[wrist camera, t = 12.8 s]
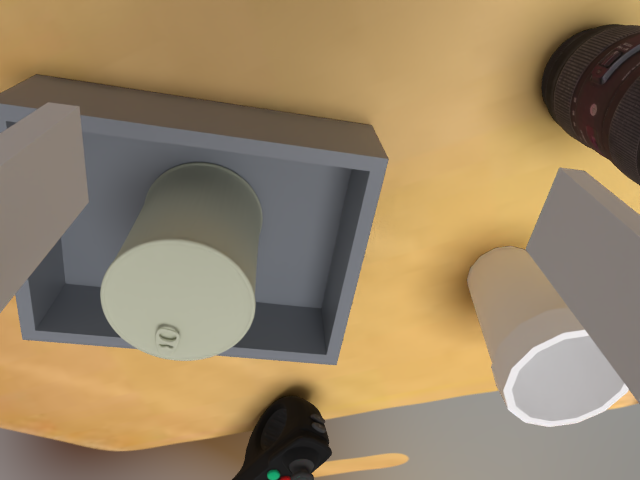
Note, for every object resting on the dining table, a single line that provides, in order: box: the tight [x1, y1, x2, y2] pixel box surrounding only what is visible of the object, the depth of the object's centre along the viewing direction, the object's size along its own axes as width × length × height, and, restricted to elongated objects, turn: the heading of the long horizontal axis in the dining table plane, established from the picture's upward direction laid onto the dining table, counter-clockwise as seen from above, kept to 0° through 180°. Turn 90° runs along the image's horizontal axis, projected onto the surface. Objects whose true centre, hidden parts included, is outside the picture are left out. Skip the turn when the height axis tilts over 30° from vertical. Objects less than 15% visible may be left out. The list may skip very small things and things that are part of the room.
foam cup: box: [467, 246, 629, 427], centre depth 41 cm, size 10×9×13 cm
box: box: [0, 74, 389, 365], centre depth 38 cm, size 24×18×7 cm
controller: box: [232, 396, 332, 480], centre depth 49 cm, size 4×12×10 cm, turn 138°
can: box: [100, 162, 263, 361], centre depth 35 cm, size 9×9×12 cm
